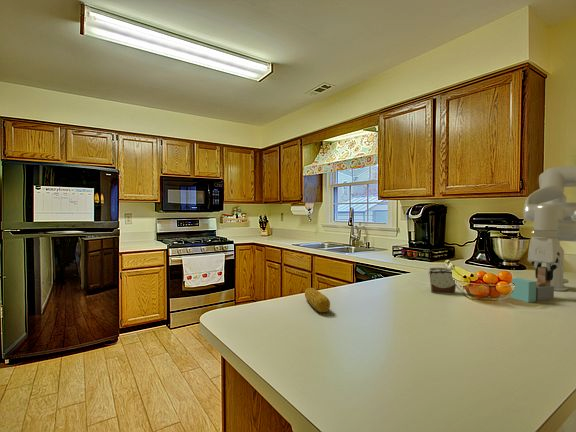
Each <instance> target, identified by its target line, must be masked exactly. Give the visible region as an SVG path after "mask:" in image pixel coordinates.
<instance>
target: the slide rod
mask: <svg viewBox="0 0 576 432" xmlns="http://www.w3.org/2000/svg"><path fill="white" fill-rule="evenodd" d="M546 270H547V267H538V279H537V278H536V287H542V286H550V280H548V281H547V280H545V274H546Z"/></svg>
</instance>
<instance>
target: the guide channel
mask: <svg viewBox="0 0 576 432" xmlns="http://www.w3.org/2000/svg"><path fill="white" fill-rule="evenodd" d="M554 294H555V290H554V286H542V287H536V301H537V302H538V301H548V300H549V301H550V300H555V299H554V298H555V295H554Z"/></svg>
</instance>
